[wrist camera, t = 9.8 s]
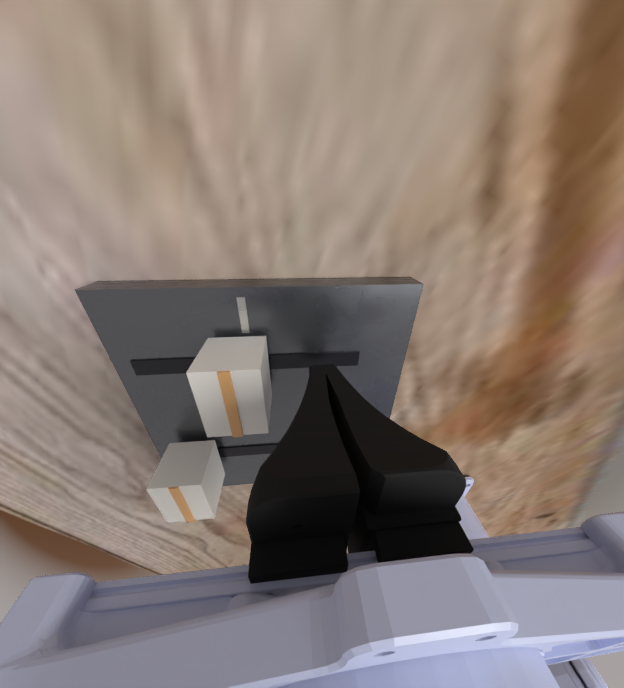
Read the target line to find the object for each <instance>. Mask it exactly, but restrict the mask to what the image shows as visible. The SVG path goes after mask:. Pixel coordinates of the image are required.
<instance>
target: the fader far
mask: <svg viewBox="0 0 624 688" xmlns="http://www.w3.org/2000/svg"><path fill="white" fill-rule="evenodd" d="M224 477H225V472H224V468H223V465H222V462H221V459H220V455H219V452H218V449H217V446H216V443H215V440H210V441H195V442H181V443H169V445H168V447H167V449H166V451H165V453H164V455H163V457H162V459H161V461H160V463H159V465H158V467H157V469H156V471H155V472H154V474H153V476H152V478H151V480H150V482H149V484H148V486H147V488H146V490H147V492H148V493H149V495H150V496H151V498H152V499H153V501H154V503H155V504H156V506H157V507H158V509H159V510H160V512H161V513H162V515H163V517H164V518H165V520H166V521H167V523H170V522H181V521H186V522H187V523H188V522H195V520H201V519H212V518H215V514H216V510H217V506H218V502H219V498H220V493H221V489H222V485H223V481H224Z"/></svg>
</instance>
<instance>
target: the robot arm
mask: <svg viewBox="0 0 624 688" xmlns="http://www.w3.org/2000/svg"><path fill="white" fill-rule="evenodd" d="M473 483H474V480H473V478H472V477H464V476H463V474H462V473H461V471H460V470H459V468H458V466H457V465H456V463H455V462H454V461H453V459H452V458H451V457H450V455H449V454H448V453H447V451H445V450H443V449H441V448H439V447H437V446H435V445H433V444H431V443H429V442H427V441H425V440H423V439H421V438H419V437H417V436H416V435H414V434H412V433H411V432H409V431H407V430H406V429H404V428H402V427H401V426H399V425H398V424H396V423H395V422H393V421H392V420H390V419H389V418H388V417H386V416H385V415H384V414H382V413H381V412H380V411H378V410H377V409H376V408H375V407H374V406H372V405H371V404H370V403H369V402H368V401H367V400H366V399H365V398H364V397H363V396H362V395H361V394H360V393H359V392H358V391H357V390H356V389H355V388H354V387H353V386H352V385H351V384H350V383H349V381H348V380H347V379H346V378H345V377H344V376H343V374H342V373H341V372H340V371H339V369H338V368H337V367H336V365H335V364H325V365H311V366H310V367H309V379H308V383H307V387H306V390H305V393H304V396H303V399H302V402H301V404H300V406H299V409H298V411H297V413H296V415H295V417H294V419H293V421H292V423H291V424H290V426H289V428H288V430H287V431H286V433H285V434H284V436H283V437H282V439H281V440H280V442H279V443H278V445H277V446H276V448H275V449H274V450H273V452H272V453H271V454H270V455H269V457H268V458H267V459H266V460H265V461H264V463H263V464H262V465H261V467H260V469H259V471H258V474H257V476H256V479H255V481H254V484H253V487H252V490H251V494H250V498H249V502H248V509H247V517H246V524H247V528H248V531H249V535H250V538H251V542H252V544H251V553H250V562H249V565H243V566H235V567H226V568H217V569H208V570H200V571H191V572H182V573H173V574H165V575H156V576H148V577H138V578H130V579H121V580H112V581H104V582H96V581H95V580H94V578H93V577H92V576H90V575H88V574H86V573H80V572H72V573H63V574H54V575H45V576H36V577H35V578H33V579H31V580H30V581H29V583H28V585H27V586H26V587H25V589H24V590H23V592H22V593H21V594H20V596H19V597H18V599H17V600H16V602H15V603H14V605H13V606H12V607H11V609H10V610H9V612H8V613H7V614H6V616H5V618H4V619H3V620H2V622H1V623H0V688H608V686H607V685H606V683H605V682H604V680H603V679H602V677H601V676H600V674H599V673H598V671H597V670H596V668H595V667H594V666H593V664H592V662H591V661H590V659H589V658H588V657H592V656H597V655H602V654H608V653H613V652H618V651H624V512H617V513H608V514H600V515H596V516H593V517H591V518H589V519H587V520H586V521H585V522H583V523H582V524H581V527H576V528H567V529H559V530H550V531H541V532H532V533H524V534H515V535H506V536H497V537H489V536H488V534H487V533H486V531H485V529H484V528H483V526H482V524H481V523H480V521H479V520H478V518H477V516H476V515H475V513H474V511H473V510H472V508H471V507H470V505H469V503H468V502H467V500H466V499H465V495H466V494H467V492H468V491H469V489H470V488H471V486H472V484H473ZM347 545H348V553H349V554H347V553H346V550H347Z"/></svg>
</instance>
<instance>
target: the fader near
mask: <svg viewBox="0 0 624 688" xmlns="http://www.w3.org/2000/svg"><path fill="white" fill-rule="evenodd" d="M186 374H187V377H188V380H189V383H190V386H191V389H192V392H193V395H194V398H195V401H196V404H197V407H198V410H199V414H200V417H201V420H202V423H203V426H204V429H205V432H206V435H207V437H221V436H233V437H243V435H250V434H265V433H269V421H270V410H271V398H272V388H271V379H270V369H269V359H268V349H267V340H266V336H248V337H219V338H208V339H207V340H206V342H205V343H204V345H203V347H202V348H201V350H200V351H199V353H198V355H197V356H196V358H195V359H194V361H193V363H192V364H191V366H190V367H189V369H188V371H187V372H186Z"/></svg>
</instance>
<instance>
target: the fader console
mask: <svg viewBox="0 0 624 688" xmlns="http://www.w3.org/2000/svg"><path fill="white" fill-rule="evenodd" d="M422 288H423V284H422V283H421V282H419V281H417V280H415V279H413V278H411V277H373V278H301V279H229V280H156V281H97V282H95V283H92V284H89V285H87V286H84V287H81V288H79V289H76V290H75V291H76V293H77V295H78V297H79V299H80V301H81V303H82V305H83V307H84V309H85V310H86V312H87V314H88V316H89V318H90V320H91V322H92V324H93V326H94V328H95V330H96V332H97V334H98V336H99V338H100V340H101V342H102V343H103V345H104V347H105V349H106V351H107V353H108V355H109V357H110V359H111V361H112V363H113V365H114V367H115V369H116V371H117V373H118V375H119V376H120V378H121V380H122V382H123V384H124V386H125V388H126V390H127V392H128V394H129V396H130V398H131V400H132V402H133V404H134V406H135V407H136V409H137V411H138V413H139V415H140V417H141V419H142V421H143V423H144V425H145V427H146V429H147V431H148V433H149V435H150V437H151V439H152V440H153V442H154V444H155V446H156V448H157V450H158V452H159V454H160V456H161V458H162V457H163V455H164V453H165V451H166V449H167V447H168V445H169V443H181V442H195V441H210V440H215V443H216V446H217V449H218V452H219V455H220V459H221V462H222V465H223V468H224V472H225V477H224V481H223V485H222V486H228V485H240V484H251V483H254V481H255V479H256V476H257V474H258V471H259V469H260V467H261V465H262V464H263V463H264V461H265V460H266V459H267V458H268V457H269V455H270V454H271V453H272V452H273V450H274V449H275V448H276V446H277V445H278V443H279V442H280V440H281V439H282V437H283V436H284V434H285V433H286V431H287V430H288V428H289V426H290V424H291V423H292V421H293V419H294V417H295V415H296V413H297V411H298V409H299V406H300V404H301V402H302V399H303V396H304V393H305V390H306V387H307V383H308V379H309V367H310V366H311V365H325V364H335V365H336V367H337V368H338V369H339V371H340V372H341V373H342V374H343V376H344V377H345V378H346V379H347V380H348V381H349V383H350V384H351V385H352V386H353V387H354V388H355V389H356V390H357V391H358V392H359V393H360V394H361V395H362V396H363V397H364V398H365V399H366V400H367V401H368V402H369V403H370V404H371V405H372V406H374V407H375V408H376V409H377V410H378V411H380V412H381V413H382V414H384V415H385V416H386V417H388V418H389V419H390V415H391V411H392V407H393V403H394V399H395V395H396V391H397V387H398V383H399V379H400V375H401V371H402V367H403V363H404V359H405V355H406V352H407V348H408V344H409V340H410V336H411V332H412V328H413V324H414V320H415V316H416V312H417V308H418V304H419V300H420V296H421V292H422ZM248 336H266V340H267V349H268V359H269V369H270V379H271V388H272V398H271V410H270V421H269V433H265V434H250V435H243V437H233V436H221V437H207V435H206V432H205V429H204V426H203V423H202V420H201V417H200V414H199V410H198V407H197V404H196V401H195V398H194V395H193V392H192V389H191V386H190V383H189V380H188V377H187V374H186V372H187V371H188V369H189V367H190V366H191V364H192V363H193V361H194V359H195V358H196V356H197V355H198V353H199V351H200V350H201V348H202V347H203V345H204V343H205V342H206V340H207V339H208V338H219V337H248Z"/></svg>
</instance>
